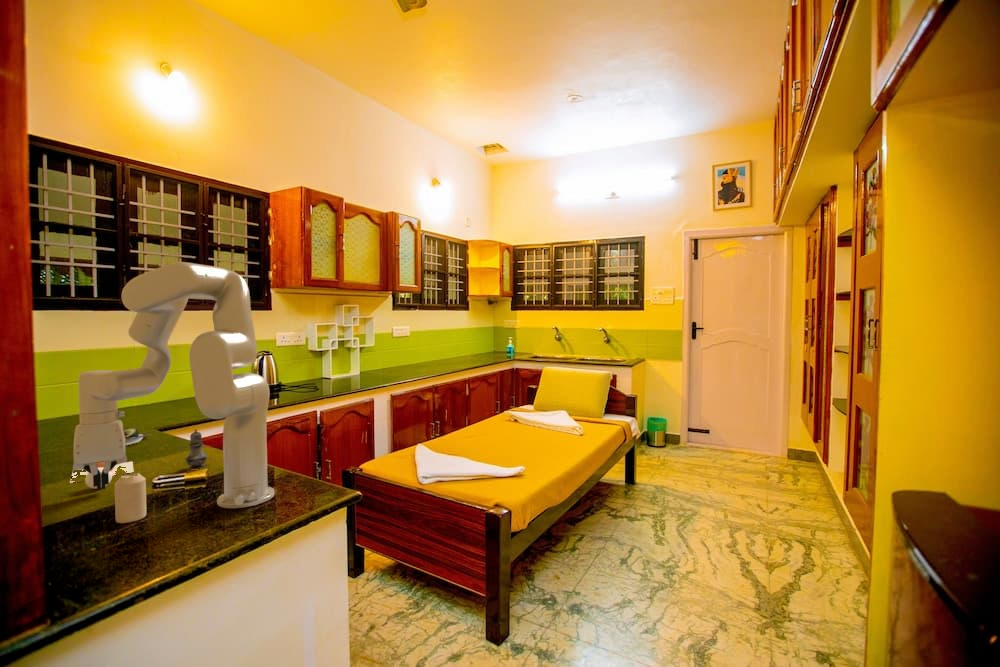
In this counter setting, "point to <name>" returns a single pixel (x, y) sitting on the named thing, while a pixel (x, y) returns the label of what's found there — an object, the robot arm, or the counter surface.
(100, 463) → the object ball
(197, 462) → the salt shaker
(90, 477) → the cue ball
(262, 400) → the robot arm
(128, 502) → the candle
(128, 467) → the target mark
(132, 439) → the salad plate
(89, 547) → the counter surface
